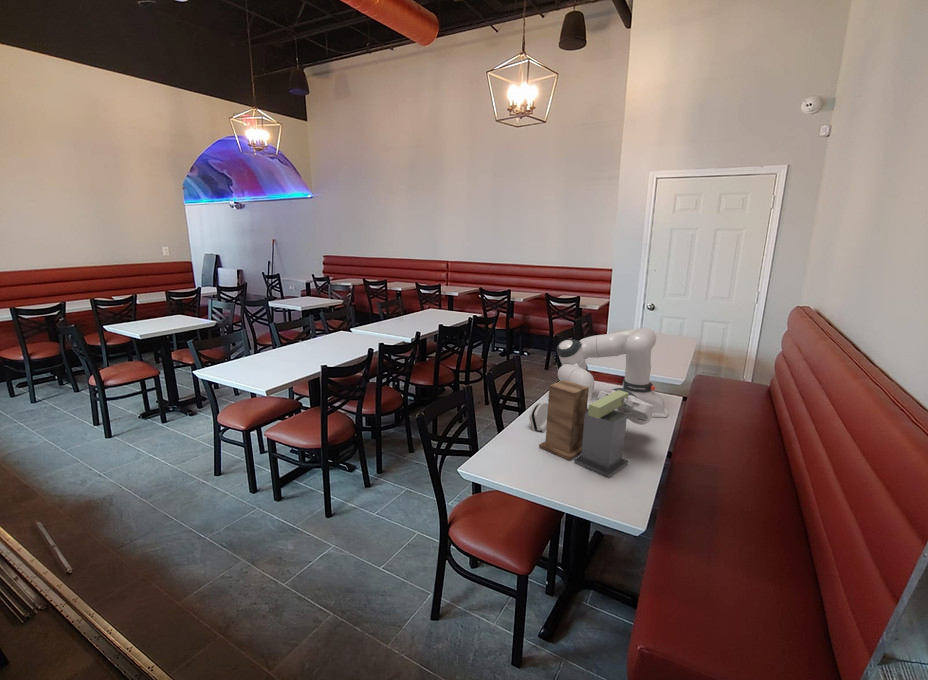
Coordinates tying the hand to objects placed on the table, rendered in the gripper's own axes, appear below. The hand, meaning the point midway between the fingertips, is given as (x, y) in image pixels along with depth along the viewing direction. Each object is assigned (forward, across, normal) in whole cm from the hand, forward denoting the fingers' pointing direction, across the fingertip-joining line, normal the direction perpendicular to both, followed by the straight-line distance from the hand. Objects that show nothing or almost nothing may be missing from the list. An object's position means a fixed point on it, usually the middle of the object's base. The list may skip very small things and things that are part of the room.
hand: (616, 398), depth 164 cm
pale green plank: (+4, 0, +5) cm, 6 cm away
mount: (-6, 0, +24) cm, 25 cm away
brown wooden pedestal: (-6, -16, +24) cm, 30 cm away
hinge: (-16, -36, +19) cm, 43 cm away
